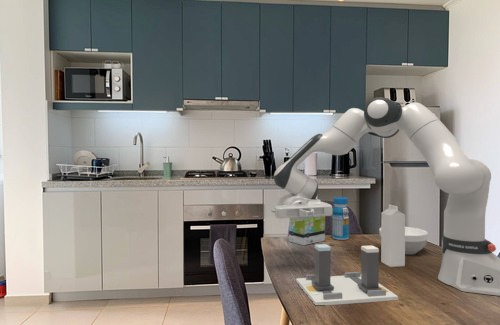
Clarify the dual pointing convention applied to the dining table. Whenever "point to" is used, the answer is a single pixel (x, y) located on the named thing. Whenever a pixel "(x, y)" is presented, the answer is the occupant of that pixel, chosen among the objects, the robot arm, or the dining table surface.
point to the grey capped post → (322, 268)
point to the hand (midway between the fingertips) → (310, 214)
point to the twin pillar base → (344, 291)
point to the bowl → (413, 239)
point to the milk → (393, 237)
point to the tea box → (307, 230)
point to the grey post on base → (369, 268)
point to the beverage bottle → (340, 219)
